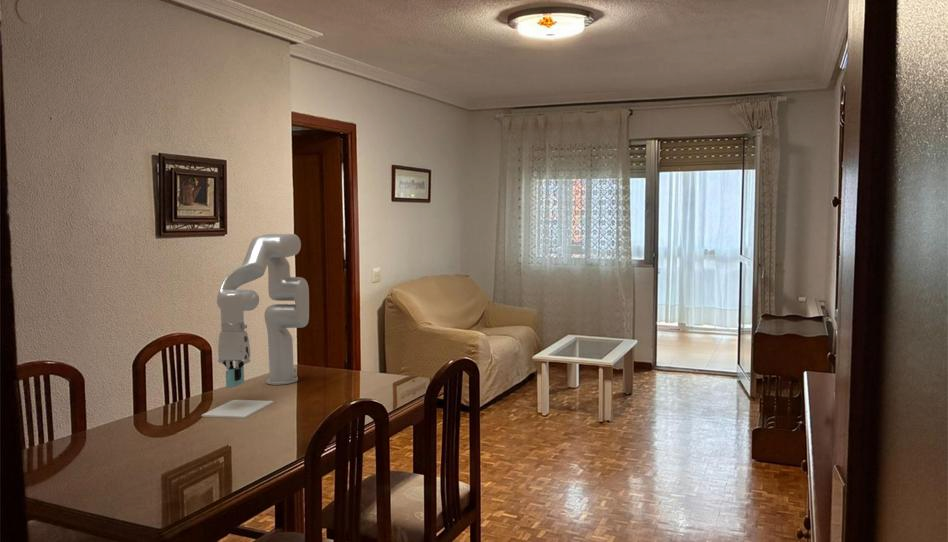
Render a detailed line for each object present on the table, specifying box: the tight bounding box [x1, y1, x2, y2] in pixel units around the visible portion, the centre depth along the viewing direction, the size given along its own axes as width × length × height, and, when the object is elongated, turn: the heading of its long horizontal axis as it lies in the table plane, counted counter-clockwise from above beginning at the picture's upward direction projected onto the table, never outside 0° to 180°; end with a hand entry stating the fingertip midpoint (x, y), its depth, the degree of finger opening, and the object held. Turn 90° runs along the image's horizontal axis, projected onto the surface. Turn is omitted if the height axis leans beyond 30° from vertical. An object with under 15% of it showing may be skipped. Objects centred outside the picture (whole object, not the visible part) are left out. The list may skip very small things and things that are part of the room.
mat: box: [201, 399, 275, 419], centre depth 245 cm, size 20×16×1 cm
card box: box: [225, 365, 245, 389], centre depth 246 cm, size 9×2×6 cm, turn 168°
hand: (234, 379), depth 246 cm, fingers closed on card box, 1 cm apart
